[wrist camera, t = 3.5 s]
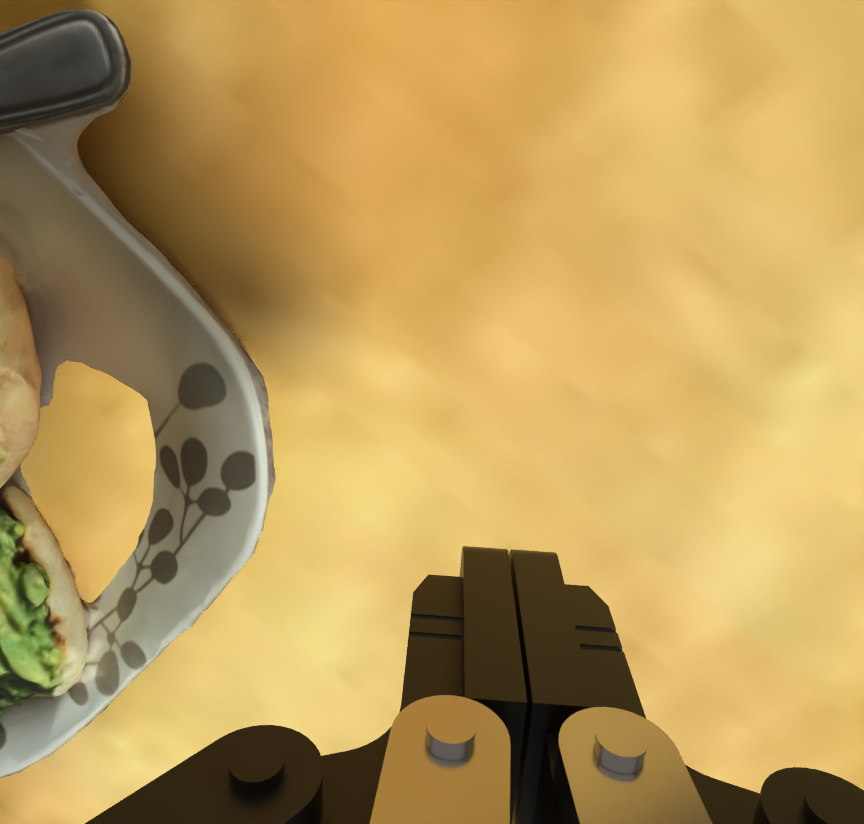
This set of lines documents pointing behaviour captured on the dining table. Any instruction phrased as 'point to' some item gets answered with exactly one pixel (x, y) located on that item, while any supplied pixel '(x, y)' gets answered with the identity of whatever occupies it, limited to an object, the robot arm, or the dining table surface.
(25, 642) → the salad plate
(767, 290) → the dining table surface
